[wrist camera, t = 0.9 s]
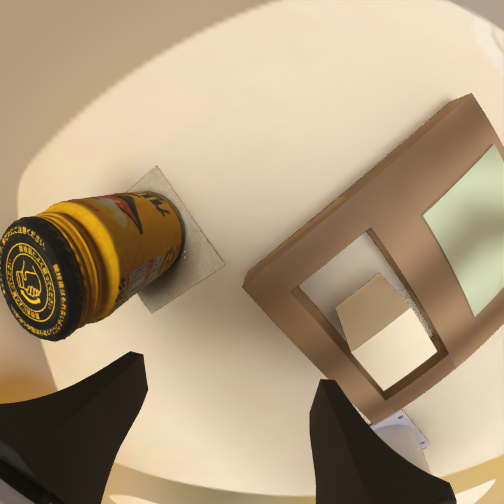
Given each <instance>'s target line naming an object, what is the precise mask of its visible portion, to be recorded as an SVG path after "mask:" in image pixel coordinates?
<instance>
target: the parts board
mask: <svg viewBox="0 0 504 504" xmlns="http://www.w3.org/2000/svg"><path fill="white" fill-rule="evenodd" d="M365 231H367V232H368V234H369V235H370V237H371V238H372V239H373V241H374V242H375V244H376V245H377V246H378V248H379V249H380V251H381V252H382V253H383V255H384V256H385V258H386V259H387V261H388V262H389V264H390V265H391V267H392V268H393V270H394V271H395V273H396V274H397V276H398V277H399V279H400V280H401V282H402V283H403V285H404V286H405V288H406V290H407V291H408V293H409V294H410V296H411V297H412V299H413V301H414V302H415V304H416V306H417V307H418V309H419V311H420V312H421V314H422V316H423V317H424V319H425V321H426V322H427V324H428V326H429V328H430V329H431V331H432V333H433V335H434V336H433V337H431V338H430V340H431V341H432V343H433V345H434V347H435V348H436V350H437V352H436V353H435V354H434V355H432V356H431V357H430V358H429V359H427V360H426V361H425V362H424V363H422V364H421V365H420V366H418V367H417V368H416V369H414V370H413V371H412V372H410V373H409V374H408V375H406V376H405V377H403V378H402V379H401V380H399V381H398V382H396V383H395V384H393V385H392V386H391V387H389V388H388V389H386V390H385V391H383V390H382V388H381V387H380V386H379V385H378V384H377V382H376V381H375V380H374V379H373V378H372V377H371V375H370V374H369V373H368V372H367V371H366V370H365V368H364V367H363V366H362V365H361V364H360V362H359V361H358V360H357V359H356V358H355V357H354V355H353V354H352V353H351V351H350V348H349V345H348V344H347V342H346V341H345V340H344V339H343V338H342V337H341V335H340V334H339V333H338V332H337V331H336V329H335V328H334V327H333V326H332V325H331V324H330V322H329V321H328V320H327V319H326V318H325V317H324V315H323V314H322V313H321V312H320V311H319V309H318V308H317V307H316V306H315V305H314V304H313V302H312V301H311V300H310V299H309V298H308V297H307V295H306V294H305V293H304V292H303V291H302V290H301V288H300V287H299V286H298V285H299V284H301V283H302V282H303V281H304V280H306V279H307V278H308V277H309V276H311V275H312V274H313V273H315V272H316V271H317V270H318V269H320V268H321V267H322V266H323V265H325V264H326V263H327V262H328V261H330V260H331V259H332V258H333V257H335V256H336V255H337V254H338V253H340V252H341V251H342V250H343V249H344V248H346V247H347V246H348V245H349V244H351V243H352V242H353V241H354V240H355V239H357V238H358V237H359V236H360V235H361V234H363V233H364V232H365ZM242 288H243V289H244V290H245V291H246V292H247V293H248V294H249V295H250V296H251V297H252V299H253V300H254V301H255V302H256V303H257V304H258V305H259V306H260V307H261V308H262V309H263V311H264V312H265V313H266V314H267V315H268V316H269V317H270V318H271V319H272V320H273V321H274V322H275V323H276V325H277V326H278V327H279V328H280V329H281V330H282V331H283V332H284V333H285V334H286V335H287V336H288V337H289V338H290V339H291V340H292V342H293V343H294V344H295V345H296V346H297V347H298V348H299V349H300V350H301V351H302V352H303V353H304V354H305V355H306V356H307V357H308V358H309V359H310V360H311V361H312V362H313V363H314V365H315V366H316V367H317V368H318V369H319V370H320V371H321V372H322V373H323V374H324V375H325V376H326V377H327V378H328V379H329V380H336V382H337V383H338V385H339V386H340V388H341V389H342V390H343V392H344V393H345V395H346V396H347V398H348V399H349V400H350V401H351V402H352V403H353V404H354V405H355V406H356V407H357V408H358V409H359V410H360V411H361V412H362V413H363V414H364V415H365V416H366V417H367V418H368V419H369V420H370V421H371V422H372V423H373V424H374V425H376V424H377V423H379V422H381V421H382V420H384V419H386V418H387V417H389V416H390V415H392V414H394V413H395V412H397V411H398V410H400V409H401V408H403V407H405V406H406V405H408V404H409V403H410V402H412V401H413V400H415V399H416V398H418V397H419V396H421V395H422V394H423V393H425V392H426V391H427V390H429V389H430V388H432V387H433V386H434V385H435V384H437V383H438V382H439V381H441V380H442V379H443V378H445V377H446V376H447V375H448V374H450V373H451V372H452V371H453V370H454V369H456V368H457V367H458V366H459V365H460V364H462V363H463V362H464V361H465V360H466V359H467V358H468V357H470V356H471V355H472V354H473V353H474V352H475V351H476V350H477V349H478V348H479V347H480V346H482V345H483V344H484V343H485V342H486V341H487V340H488V339H489V338H490V337H491V336H492V335H493V334H494V333H495V332H496V331H497V330H498V329H499V328H500V327H501V326H502V325H503V323H504V147H503V145H502V143H501V141H500V139H499V137H498V135H497V134H496V132H495V130H494V128H493V127H492V125H491V123H490V121H489V120H488V118H487V116H486V115H485V113H484V111H483V110H482V108H481V107H480V105H479V104H478V102H477V100H476V99H475V97H474V96H473V94H472V93H470V94H468V95H465V96H463V97H460V98H458V99H456V100H453V101H451V102H450V103H449V104H447V105H446V106H445V107H444V108H443V109H442V110H441V111H439V112H438V113H437V114H436V115H435V116H434V117H432V118H431V119H430V120H429V121H428V122H427V123H425V124H424V125H423V126H422V127H421V128H420V129H419V130H417V131H416V132H415V133H414V134H413V135H412V136H410V137H409V138H408V139H407V140H406V141H405V142H403V143H402V144H401V145H400V146H399V147H398V148H396V149H395V150H394V151H393V152H392V153H390V154H389V155H388V156H387V157H386V158H385V159H383V160H382V161H381V162H380V163H379V164H378V165H376V166H375V167H374V168H373V169H372V170H370V171H369V172H368V173H367V174H366V175H364V176H363V177H362V178H361V179H360V180H359V181H357V182H356V183H355V184H354V185H353V186H351V187H350V188H349V189H348V190H347V191H345V192H344V193H343V194H342V195H341V196H339V197H338V198H337V199H336V200H335V201H333V202H332V203H331V204H330V205H329V206H327V207H326V208H325V209H324V210H323V211H321V212H320V213H319V214H318V215H317V216H315V217H314V218H313V219H312V220H311V221H309V222H308V223H307V224H306V225H305V226H303V227H302V228H301V229H300V230H299V231H297V232H296V233H295V234H294V235H292V236H291V237H290V238H289V239H288V240H286V241H285V242H284V243H283V244H282V245H280V246H279V247H278V248H277V249H275V250H274V251H273V252H272V253H271V254H269V255H268V256H267V257H266V258H264V259H263V260H262V261H261V262H260V263H258V264H257V265H256V266H255V267H253V268H252V269H251V270H250V271H249V272H248V273H247V276H246V278H245V281H244V283H243V286H242Z"/></svg>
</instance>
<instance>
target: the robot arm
mask: <svg viewBox="0 0 504 504" xmlns="http://www.w3.org/2000/svg"><path fill="white" fill-rule="evenodd" d="M147 391H148V385H147V379H146V372H145V365H144V357H143V354H139V353H135V352H131V351H130V352H128V353H127V354H125V355H123V356H122V357H120V358H119V359H117V360H115V361H114V362H112V363H111V364H109V365H108V366H106V367H104V368H103V369H101V370H99V371H98V372H96V373H95V374H93V375H91V376H89V377H87V378H85V379H83V380H82V381H80V382H78V383H76V384H74V385H72V386H70V387H67V388H65V389H63V390H60V391H58V392H55V393H52V394H49V395H46V396H42V397H39V398H36V399H32V400H27V401H22V402H16V403H7V404H0V504H101V501H102V497H103V494H104V490H105V486H106V483H107V480H108V477H109V474H110V471H111V468H112V465H113V463H114V460H115V457H116V455H117V452H118V450H119V448H120V446H121V444H122V442H123V440H124V439H125V437H126V435H127V433H128V431H129V430H130V428H131V426H132V424H133V422H134V421H135V419H136V417H137V415H138V413H139V411H140V409H141V407H142V405H143V402H144V400H145V397H146V394H147ZM310 440H311V447H312V455H313V462H314V469H315V477H316V504H457V502H456V498H455V495H454V492H453V490H452V487H451V485H450V483H449V482H446V481H444V480H442V479H440V478H437V477H435V476H433V475H431V472H430V469H429V467H428V464H427V461H426V459H425V456H424V453H423V451H422V450H423V449H424V448H426V447H427V446H428V445H429V442H428V441H427V439H426V438H425V437H424V436H423V435H422V433H421V432H420V431H419V430H418V429H417V427H416V426H415V425H414V424H413V422H412V421H411V420H410V419H409V418H408V416H407V415H406V414H405V413H404V412H403V410H402V409H400V410H398V411H397V412H395V413H394V414H392V415H390V416H389V417H387V418H386V419H384V420H382V421H381V422H379V423H377V424H376V425H374V424H372V425H371V426H369V425H368V424H367V423H366V422H365V420H364V419H363V418H362V417H361V415H360V414H359V413H358V411H357V410H356V409H355V408H354V406H353V405H352V403H351V402H350V401H349V399H348V398H347V396H346V395H345V393H344V392H343V390H342V389H341V388H340V386H339V385H338V383H337V382H336V380H326V379H320V382H319V385H318V388H317V392H316V395H315V398H314V401H313V404H312V407H311V410H310Z"/></svg>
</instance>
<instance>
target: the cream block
mask: <svg viewBox="0 0 504 504" xmlns="http://www.w3.org/2000/svg"><path fill="white" fill-rule="evenodd" d="M335 309H336V311H337V314H338V317H339V320H340V322H341V325H342V328H343V331H344V334H345V337H346V339H347V342H348V345H349V348H350V351H351V353H352V354H353V355H354V357H355V358H356V359H357V360H358V361H359V362H360V364H361V365H362V366H363V367H364V368H365V370H366V371H367V372H368V373H369V374H370V375H371V377H372V378H373V379H374V380H375V381H376V382H377V384H378V385H379V386H380V387H381V388H382V390H383V391H385V390H386V389H388V388H389V387H391V386H392V385H393V384H395V383H396V382H398V381H399V380H401V379H402V378H403V377H405V376H406V375H408V374H409V373H410V372H412V371H413V370H414V369H416V368H417V367H418V366H420V365H421V364H422V363H424V362H425V361H426V360H427V359H429V358H430V357H431V356H432V355H434V354H435V353H436V352H437V350H436V348H435V347H434V345H433V343H432V341H431V340H430V338H429V336H428V334H427V333H426V331H425V329H424V328H423V326H422V324H421V323H420V321H419V319H418V318H417V316H416V314H415V313H414V311H413V310H412V308H411V307H410V305H409V304H408V303H407V302H406V301H405V300H404V299H403V298H402V297H401V296H400V295H399V294H398V292H397V291H396V290H395V289H394V288H393V287H392V286H391V285H390V284H389V283H388V282H387V281H386V280H385V279H384V278H383V277H382V275H381V274H380V273H378V274H377V275H376V276H375V277H373V278H372V279H371V280H370V281H368V282H367V283H366V284H365V285H363V286H362V287H361V288H360V289H358V290H357V291H356V292H355V293H353V294H352V295H351V296H349V297H348V298H347V299H345V300H344V301H343V302H342V303H340V304H339V305H338V306H336V307H335Z"/></svg>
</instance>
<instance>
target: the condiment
mask: <svg viewBox="0 0 504 504" xmlns="http://www.w3.org/2000/svg"><path fill="white" fill-rule="evenodd" d="M184 250H186V253H184ZM185 255H186V259H185V260H184V256H185ZM224 265H225V264H224V262H223V261H222V260H221V258H220V257H219V256H218V254H217V253H216V251H215V250H214V248H213V247H212V246H211V244H210V243H209V242H208V240H207V239H206V237H205V236H204V234H203V233H202V231H201V230H200V229H199V227H198V226H197V224H196V223H195V221H194V220H193V218H192V217H191V215H190V214H189V212H188V211H187V209H186V208H185V206H184V205H183V203H182V202H181V200H180V199H179V198H178V196H177V194H176V193H175V192H174V190H173V189H172V187H171V186H170V184H169V183H168V182H167V180H166V178H165V177H164V175H163V174H162V173H161V171H160V170H159V168H158V167H157V166H155V167H154V168H153V169H152V170H151V171H150V172H148V173H147V174H146V175H145V176H144V177H143V178H142V179H141V180H139V181H138V183H136V184H135V185H134V186H133V187H132V188H131V189H130V190H129V191H128V192H127V193H116V194H113V195H105V196H98V197H90V198H83V199H72V200H68V201H62V202H59V203H56V204H54V205H52V206H50V207H49V208H48V209H47V210H45V211H44V212H43V213H40V214H37V215H36V216H31V217H23V218H20V219H19V220H17V221H14V222H13V224H11V225H10V226H9V227H8V229H7V230H6V232H5V233H4V235H3V236H2V239H1V241H0V285H1V290H2V292H3V295H4V297H5V298H6V302H7V304H8V307H9V308H10V310H11V312H12V314H13V315H14V317H15V318H16V320H17V321H18V322H19V323H20V325H21V326H22V327H23V328H24V329H26V330H27V331H28V332H29V333H30V334H33V335H34V336H36V337H38V338H41V339H44V340H49V341H54V342H56V341H59V340H62V339H65V338H66V337H68V336H70V335H71V334H72V333H73V332H74V331H75V330H76V329H78V328H81V327H83V326H85V325H86V324H89V323H95V322H98V321H100V320H102V319H104V318H106V317H108V316H109V315H111V314H112V313H113V312H114V311H115V310H116V309H117V308H118V307H120V306H121V305H122V304H123V303H125V302H126V301H128V299H129V298H131V297H132V296H133V295H134V294H136V293H137V294H138V295H139V297H140V298H141V300H142V301H143V303H144V305H145V306H146V307H147V308H148V310H149V311H150V312H151V313H154V312H155V311H157V310H158V309H159V308H161V307H162V306H164V305H165V304H167V303H168V302H170V301H171V300H173V299H174V298H176V297H177V296H179V295H180V294H182V293H183V292H185V291H186V290H188V289H189V288H191V287H192V286H194V285H195V284H197V283H199V282H200V281H202V280H203V279H205V278H206V277H208V276H209V275H211V274H212V273H214V272H215V271H217V270H218V269H220V268H221V267H223V266H224Z"/></svg>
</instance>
